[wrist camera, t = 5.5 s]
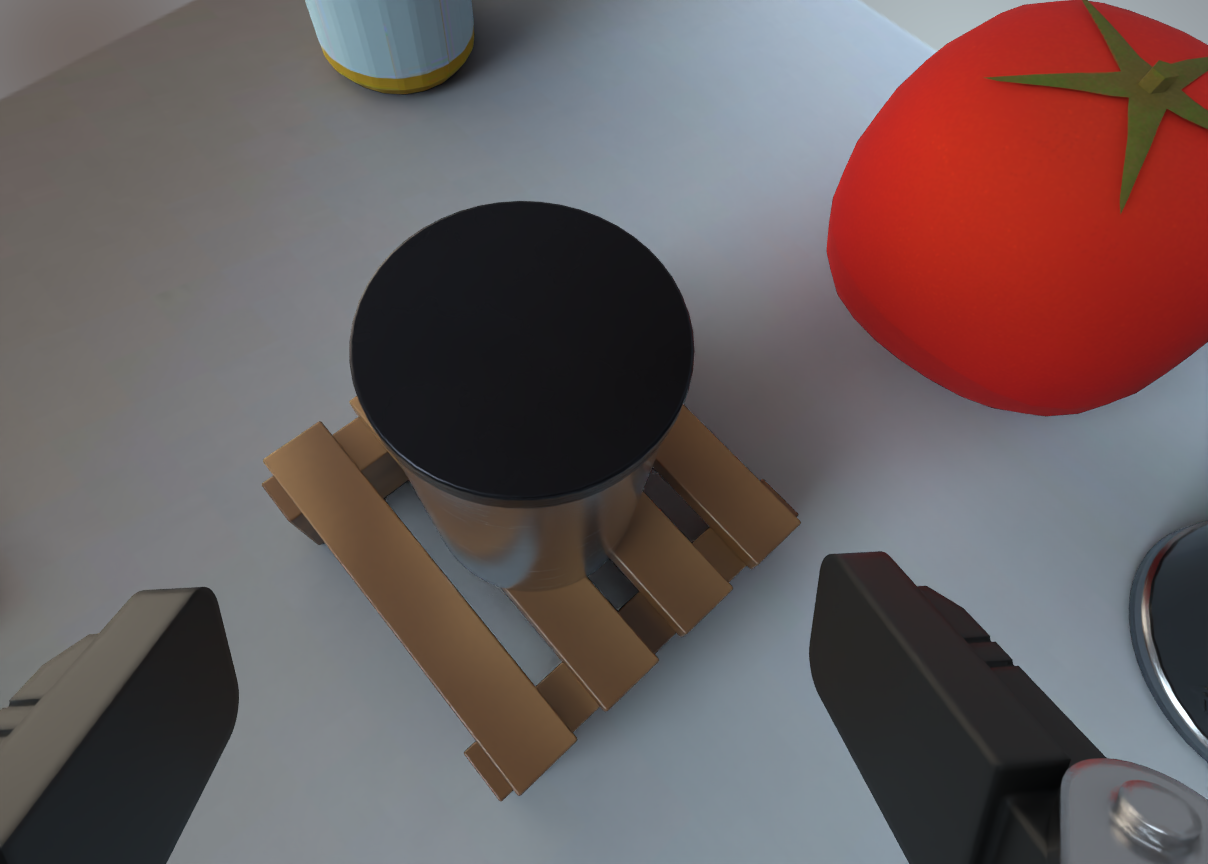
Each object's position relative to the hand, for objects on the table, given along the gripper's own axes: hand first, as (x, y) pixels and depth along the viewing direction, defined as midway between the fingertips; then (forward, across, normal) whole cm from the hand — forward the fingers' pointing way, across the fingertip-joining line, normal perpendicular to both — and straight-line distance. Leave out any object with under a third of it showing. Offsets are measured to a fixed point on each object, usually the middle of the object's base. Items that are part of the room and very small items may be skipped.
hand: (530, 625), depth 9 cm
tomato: (+20, -18, 0) cm, 26 cm away
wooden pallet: (+14, 0, +6) cm, 15 cm away
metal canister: (+11, 0, +4) cm, 12 cm away
